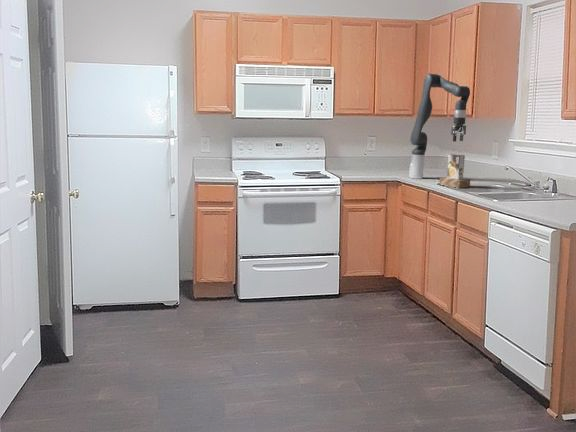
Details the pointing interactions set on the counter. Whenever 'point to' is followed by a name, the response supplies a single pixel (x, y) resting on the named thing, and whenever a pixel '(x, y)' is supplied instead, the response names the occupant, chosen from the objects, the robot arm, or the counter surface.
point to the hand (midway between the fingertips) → (457, 141)
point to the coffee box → (455, 166)
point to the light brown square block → (455, 182)
